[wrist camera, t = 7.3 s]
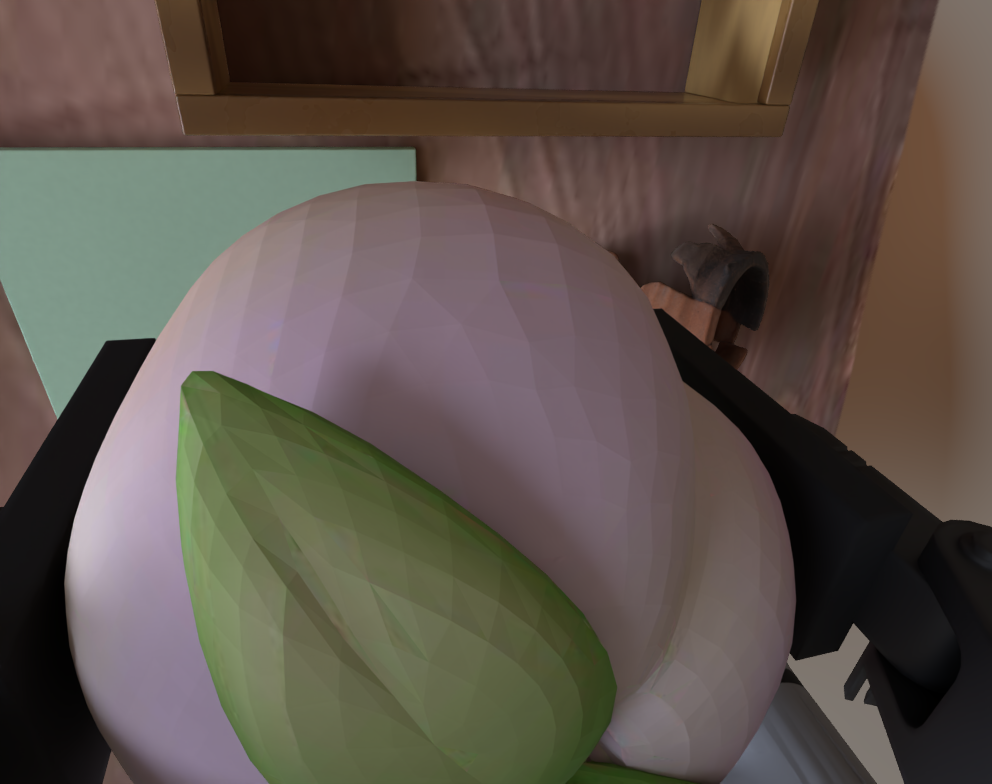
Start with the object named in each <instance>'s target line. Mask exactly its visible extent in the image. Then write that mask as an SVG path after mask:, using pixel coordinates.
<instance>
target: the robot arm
mask: <svg viewBox="0 0 992 784" xmlns="http://www.w3.org/2000/svg"><path fill="white" fill-rule="evenodd" d="M653 310H654V312H655V315H656V317H657V319H658V321H659V324H660V326H661V328H662V330H663V333H664V335H665V337H666V340H667V342H668V345H669V347H670V350H671V352H672V355H673V358H674V360H675V363H676V366H677V368H678V371H679V373H680V376H681V379H682V381H683V382H684V383H686V384H687V385H688V386H690V387H691V388H692V389H694V390H695V391H696V392H697V393H699V394H700V395H701V396H703V397H704V398H705V399H707V400H708V401H709V402H711V403H712V404H713V405H714V406H716V407H717V408H718V409H719V410H720V411H721V412H722V413H723V414H724V415H725V416H726V417H727V418H728V419H729V420H730V421H731V422H732V423H733V424H734V425H735V426H736V427H737V428H738V429H739V430H740V431H741V432H742V433H743V435H744V436H745V437H746V438H747V440H748V441H749V442H750V443H751V445H752V446H753V448H754V449H755V451H756V453H757V454H758V456H759V458H760V460H761V461H762V463H763V465H764V466H765V468H766V470H767V471H768V473H769V475H770V477H771V480H772V482H773V485H774V487H775V490H776V492H777V495H778V497H779V499H780V502H781V505H782V509H783V513H784V517H785V521H786V525H787V529H788V533H789V538H790V544H791V550H792V556H793V562H794V577H795V592H796V608H795V619H794V629H793V640H792V646H791V649H790V654H791V655H792V656H793V658H794V659H795V660H800V659H804V658H809V657H813V656H817V655H822V654H825V653H830V652H834V651H838V650H839V648H840V646H841V644H842V642H843V641H844V639H845V637H846V635H847V633H848V632H849V629H850V628H851V626H852V624H853V623H854V624H855V625H856V626H857V627H858V628H859V630H860V631H861V632H862V633H863V634H864V635H865V636H866V637H867V638H868V640H869V641H870V642H869V644H868V645H867V647H866V649H865V650H864V652H863V654H862V655H861V657H860V659H859V661H858V662H857V664H856V666H855V667H854V669H853V671H852V673H851V674H850V676H849V678H848V680H847V681H846V683H845V685H844V694H845V699H847V700H851V701H853V700H854V698H855V697H856V695H857V693H858V692H859V690H860V688H861V687H862V685H863V683H864V682H865V680H866V679H868V681H869V684H870V688H869V690H868V691H867V693H866V696H865V699H864V703H865V704H870V705H874V706H877V707H878V710H879V713H880V715H881V718H882V721H883V724H884V727H885V729H886V732H887V735H888V738H889V741H890V744H891V747H892V749H893V752H894V755H895V758H896V761H897V764H898V767H899V770H900V772H901V775H902V778H903V781H904V784H992V527H990V526H986V525H982V524H978V523H975V522H971V521H963V520H949V521H946V522H942V521H941V520H939V519H938V518H937V517H935V516H934V515H933V514H932V513H930V512H929V511H928V510H927V509H925V508H924V507H923V506H921V505H920V504H919V503H918V502H917V501H915V500H914V499H913V498H912V497H910V496H909V495H908V494H906V493H905V492H904V491H903V490H901V489H900V488H899V487H898V486H896V485H895V484H894V483H893V482H891V481H890V480H889V479H887V478H886V477H885V476H884V475H882V474H881V473H880V472H879V471H877V470H876V469H875V468H873V467H872V466H867V465H866V461H864V459H862V458H861V457H860V456H858V455H857V454H856V453H855V452H853V451H852V450H851V451H848V450H847V446H846V445H844V444H843V443H842V442H841V441H839V440H838V439H837V438H836V437H834V436H833V435H832V434H831V433H829V432H828V431H827V430H826V429H824V428H822V427H820V426H818V425H816V424H814V423H812V422H810V421H808V420H806V419H804V418H802V417H800V416H798V415H796V414H790V413H789V412H788V411H787V410H785V409H784V408H783V407H782V406H781V405H779V404H778V403H777V402H776V401H774V400H773V399H772V398H771V397H769V396H768V395H767V394H766V393H765V392H763V391H762V390H761V389H760V388H758V387H757V386H756V385H755V384H754V383H752V382H751V381H750V380H749V379H747V378H746V377H745V376H744V375H743V374H741V373H740V372H739V371H738V370H736V369H735V368H734V367H733V366H731V365H730V364H729V363H728V362H727V361H725V360H724V359H723V358H722V357H720V356H719V355H718V354H717V353H716V352H714V351H713V350H712V349H711V348H709V347H708V346H707V345H706V344H704V343H703V342H702V341H701V340H700V339H698V338H697V337H696V336H695V335H693V334H692V333H691V332H690V331H689V330H687V329H686V328H685V327H684V326H682V325H681V324H680V323H679V322H678V321H676V320H675V319H674V318H673V317H671V316H670V315H669V314H668V313H666V312H665V311H664V310H663V309H662V308H661V309H653ZM155 341H156V339H155V338H143V339H125V340H108V341H106V342H105V343H104V345H103V347H102V348H101V350H100V352H99V353H98V355H97V356H96V358H95V360H94V361H93V363H92V365H91V366H90V368H89V369H88V371H87V373H86V374H85V376H84V378H83V379H82V381H81V382H80V384H79V386H78V387H77V389H76V391H75V392H74V394H73V395H72V397H71V399H70V400H69V402H68V404H67V405H66V407H65V408H64V410H63V412H62V413H61V415H60V417H59V418H58V420H57V421H56V423H55V425H54V426H53V428H52V430H51V431H50V433H49V434H48V436H47V438H46V439H45V441H44V443H43V444H42V446H41V447H40V449H39V451H38V452H37V454H36V456H35V457H34V459H33V460H32V462H31V464H30V465H29V467H28V469H27V470H26V472H25V473H24V475H23V477H22V478H21V480H20V482H19V483H18V485H17V486H16V488H15V490H14V491H13V493H12V495H11V496H10V498H9V499H8V501H7V503H6V504H5V506H4V507H0V784H102V783H103V779H104V775H105V772H106V768H107V764H108V760H109V757H110V753H111V748H110V747H109V745H108V744H107V742H106V740H105V739H104V737H103V736H102V734H101V732H100V731H99V729H98V727H97V725H96V723H95V721H94V719H93V717H92V714H91V712H90V710H89V708H88V706H87V703H86V700H85V697H84V695H83V692H82V689H81V686H80V683H79V680H78V677H77V674H76V670H75V666H74V662H73V658H72V655H71V651H70V647H69V638H68V628H67V618H66V605H65V586H64V581H65V571H66V562H67V553H68V548H69V543H70V538H71V533H72V528H73V523H74V518H75V515H76V512H77V509H78V506H79V503H80V500H81V496H82V493H83V490H84V487H85V485H86V482H87V479H88V477H89V474H90V472H91V469H92V466H93V464H94V461H95V458H96V456H97V454H98V452H99V450H100V447H101V445H102V443H103V441H104V439H105V437H106V434H107V432H108V430H109V428H110V426H111V424H112V422H113V419H114V417H115V415H116V413H117V411H118V410H119V408H120V406H121V404H122V402H123V400H124V398H125V396H126V394H127V392H128V391H129V389H130V387H131V385H132V383H133V381H134V379H135V377H136V375H137V374H138V372H139V370H140V368H141V366H142V364H143V363H144V361H145V359H146V357H147V356H148V354H149V352H150V350H151V349H152V347H153V345H154V343H155ZM720 784H877V783H876V782H875V780H874V779H873V778H872V777H871V775H870V774H869V772H868V771H867V770H866V768H865V767H864V766H863V765H862V763H861V762H860V761H859V759H858V758H857V757H856V755H855V754H854V753H853V751H852V750H851V749H850V747H849V746H848V745H847V743H846V742H845V741H844V739H843V738H842V737H841V735H840V734H839V733H838V732H837V730H836V729H835V727H834V726H833V725H832V724H831V722H830V721H829V719H828V718H827V717H826V715H825V714H824V713H823V711H822V710H821V709H820V707H819V706H818V705H817V703H816V702H815V701H814V699H813V698H812V697H811V695H810V694H809V693H808V691H807V690H806V689H805V688H804V686H803V685H802V684H801V682H800V681H799V680H798V678H797V677H796V676H795V674H794V673H793V671H792V670H791V669H790V667H789V665H788V663H786V666H785V670H784V673H783V676H782V679H781V682H780V686H779V688H778V690H777V692H776V694H775V696H774V698H773V700H772V702H771V704H770V706H769V708H768V710H767V712H766V715H765V717H764V719H763V721H762V723H761V725H760V727H759V729H758V731H757V732H756V734H755V735H754V737H753V739H752V740H751V742H750V743H749V745H748V746H747V748H746V749H745V751H744V753H743V754H742V756H741V757H740V759H739V760H738V762H737V763H736V765H735V766H734V767H733V768H732V769H731V771H730V772H729V773H728V774H727V776H726V777H725V778H724V779H723V781H722V782H721V783H720Z"/></svg>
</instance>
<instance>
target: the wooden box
mask: <svg viewBox="0 0 992 784" xmlns="http://www.w3.org/2000/svg"><path fill="white" fill-rule="evenodd" d="M154 1H155V5H156V10H157V15H158V19H159V24H160V29H161V33H162V38H163V43H164V47H165V52H166V57H167V61H168V66H169V71H170V76H171V80H172V85H173V90H174V93H175V94H177V95H176V97H175V98H176V103H177V108H178V112H179V117H180V122H181V126H182V131H183V134H184V135H246V136H645V137H781V136H782V135H783V131H784V127H785V124H786V120H787V116H788V113H789V109H790V106H788V105H790V104H791V102H792V98H793V94H794V91H795V87H796V83H797V80H798V76H799V72H800V69H801V65H802V61H803V58H804V54H805V51H806V47H807V43H808V40H809V36H810V32H811V29H812V25H813V21H814V18H815V14H816V10H817V7H818V3H819V0H702V1H701V7H700V12H699V17H698V23H697V28H696V33H695V39H694V44H693V49H692V55H691V60H690V65H689V71H688V76H687V81H686V87H685V92H686V93H682V92H638V91H594V90H550V89H507V88H463V87H419V86H375V85H331V84H287V83H243V82H230V78H229V72H228V66H227V60H226V54H225V48H224V42H223V36H222V30H221V24H220V18H219V12H218V6H217V1H216V0H154Z"/></svg>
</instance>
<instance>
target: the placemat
mask: <svg viewBox="0 0 992 784" xmlns="http://www.w3.org/2000/svg"><path fill="white" fill-rule="evenodd" d="M408 181H417V176H416V149H415V148H414V147H25V148H0V280H1V282H2V285H3V287H4V290H5V292H6V295H7V297H8V299H9V302H10V304H11V307H12V309H13V312H14V314H15V316H16V319H17V321H18V324H19V326H20V329H21V331H22V334H23V336H24V338H25V341H26V343H27V346H28V348H29V351H30V353H31V355H32V358H33V360H34V363H35V365H36V368H37V370H38V373H39V375H40V377H41V380H42V382H43V385H44V387H45V390H46V392H47V394H48V397H49V399H50V402H51V404H52V407H53V409H54V411H55V414H56V416H57V419H58V418H59V417H60V415H61V413H62V412H63V410H64V408H65V407H66V405H67V404H68V402H69V400H70V399H71V397H72V395H73V394H74V392H75V391H76V389H77V387H78V386H79V384H80V382H81V381H82V379H83V378H84V376H85V374H86V373H87V371H88V369H89V368H90V366H91V365H92V363H93V361H94V360H95V358H96V356H97V355H98V353H99V352H100V350H101V348H102V347H103V345H104V343H105V342H106V341H108V340H125V339H143V338H155V339H156V340H157V338H158V336H159V335H160V333H161V332H162V330H163V329H164V327H165V326H166V324H167V323H168V321H169V320H170V318H171V317H172V315H173V314H174V312H175V311H176V309H177V308H178V306H179V305H180V303H181V302H182V300H183V299H184V297H185V296H186V294H187V293H188V291H189V290H190V288H191V287H192V286H193V285H194V283H195V282H196V281H197V280H198V279H199V277H200V276H201V275H202V274H203V273H204V271H205V270H206V269H207V268H208V267H209V265H210V264H211V263H212V262H213V261H214V260H215V259H216V258H217V257H218V256H219V255H221V254H222V253H223V252H224V251H225V250H226V249H228V248H229V247H230V246H231V245H232V244H233V243H234V242H236V241H237V240H238V239H239V238H240V237H241V236H243V235H244V234H246V233H247V232H249V231H250V230H252V229H254V228H255V227H257V226H258V225H260V224H262V223H263V222H265V221H266V220H268V219H269V218H271V217H273V216H274V215H276V214H277V213H280V212H282V211H284V210H287V209H289V208H291V207H294V206H296V205H298V204H301V203H303V202H305V201H308V200H310V199H312V198H315V197H317V196H319V195H323V194H327V193H331V192H335V191H339V190H343V189H347V188H352V187H356V186H360V185H364V184H375V183H391V182H408Z"/></svg>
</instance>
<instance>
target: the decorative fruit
mask: <svg viewBox="0 0 992 784" xmlns="http://www.w3.org/2000/svg"><path fill="white" fill-rule="evenodd" d="M64 586H65V605H66V618H67V628H68V638H69V647H70V651H71V655H72V658H73V662H74V666H75V670H76V674H77V677H78V680H79V683H80V686H81V689H82V692H83V695H84V697H85V700H86V703H87V706H88V708H89V710H90V712H91V714H92V717H93V719H94V721H95V723H96V725H97V727H98V729H99V731H100V732H101V734H102V736H103V737H104V739H105V740H106V742H107V744H108V745H109V747H110V748H111V750H112V752H113V753H114V755H115V756H116V758H117V760H118V761H119V763H120V764H121V766H122V767H123V769H124V770H125V772H126V773H127V775H128V776H129V778H130V779H131V780H132V781H133V783H134V784H720V783H721V782H722V781H723V779H724V778H725V777H726V776H727V774H728V773H729V772H730V771H731V769H732V768H733V767H734V766H735V765H736V763H737V762H738V760H739V759H740V757H741V756H742V754H743V753H744V751H745V749H746V748H747V746H748V745H749V743H750V742H751V740H752V739H753V737H754V735H755V734H756V732H757V731H758V729H759V727H760V725H761V723H762V721H763V719H764V717H765V715H766V712H767V710H768V708H769V706H770V704H771V702H772V700H773V698H774V696H775V694H776V692H777V690H778V688H779V686H780V682H781V679H782V676H783V673H784V670H785V666H786V663H787V660H788V656H789V653H790V649H791V646H792V640H793V629H794V619H795V608H796V592H795V577H794V562H793V556H792V550H791V544H790V538H789V533H788V529H787V525H786V521H785V517H784V513H783V509H782V505H781V502H780V499H779V497H778V495H777V492H776V490H775V487H774V485H773V482H772V480H771V477H770V475H769V473H768V471H767V470H766V468H765V466H764V465H763V463H762V461H761V460H760V458H759V456H758V454H757V453H756V451H755V449H754V448H753V446H752V445H751V443H750V442H749V441H748V440H747V438H746V437H745V436H744V435H743V433H742V432H741V431H740V430H739V429H738V428H737V427H736V426H735V425H734V424H733V423H732V422H731V421H730V420H729V419H728V418H727V417H726V416H725V415H724V414H723V413H722V412H721V411H720V410H719V409H718V408H717V407H716V406H714V405H713V404H712V403H711V402H709V401H708V400H707V399H705V398H704V397H703V396H701V395H700V394H699V393H697V392H696V391H695V390H694V389H692V388H691V387H690V386H688V385H687V384H686V383H684V382H683V381H682V379H681V376H680V373H679V371H678V368H677V366H676V363H675V360H674V358H673V355H672V352H671V350H670V347H669V345H668V342H667V340H666V337H665V335H664V333H663V330H662V328H661V326H660V324H659V321H658V319H657V317H656V315H655V312H654V310H653V308H652V306H651V303H650V301H649V299H648V297H647V296H646V295H645V293H644V292H643V291H642V290H641V288H640V287H639V286H638V285H637V283H636V282H635V281H634V280H633V278H632V277H631V276H630V275H629V273H628V272H627V271H626V270H625V269H624V267H623V266H622V265H621V264H620V263H619V262H618V260H617V259H616V258H615V257H614V256H613V255H612V254H611V253H609V252H608V251H607V250H605V249H604V248H602V247H601V246H600V245H598V244H597V243H596V242H594V241H593V240H591V239H590V238H589V237H587V236H586V235H585V234H583V233H582V232H580V231H579V230H578V229H576V228H575V227H574V226H572V225H571V224H569V223H568V222H566V221H564V220H562V219H560V218H558V217H556V216H554V215H552V214H550V213H548V212H546V211H544V210H542V209H540V208H538V207H536V206H534V205H532V204H530V203H528V202H525V201H522V200H519V199H516V198H513V197H510V196H506V195H503V194H499V193H496V192H492V191H489V190H485V189H482V188H478V187H475V186H471V185H468V184H453V183H436V182H420V181H408V182H391V183H375V184H364V185H360V186H356V187H352V188H347V189H343V190H339V191H335V192H331V193H327V194H323V195H319V196H317V197H315V198H312V199H310V200H308V201H305V202H303V203H301V204H298V205H296V206H294V207H291V208H289V209H287V210H284V211H282V212H280V213H277V214H276V215H274V216H273V217H271V218H269V219H268V220H266V221H265V222H263V223H262V224H260V225H258V226H257V227H255V228H254V229H252V230H250V231H249V232H247V233H246V234H244V235H243V236H241V237H240V238H239V239H238V240H237V241H236V242H234V243H233V244H232V245H231V246H230V247H229V248H228V249H226V250H225V251H224V252H223V253H222V254H221V255H219V256H218V257H217V258H216V259H215V260H214V261H213V262H212V263H211V264H210V265H209V267H208V268H207V269H206V270H205V271H204V273H203V274H202V275H201V276H200V277H199V279H198V280H197V281H196V282H195V283H194V285H193V286H192V287H191V288H190V290H189V291H188V293H187V294H186V296H185V297H184V299H183V300H182V302H181V303H180V305H179V306H178V308H177V309H176V311H175V312H174V314H173V315H172V317H171V318H170V320H169V321H168V323H167V324H166V326H165V327H164V329H163V330H162V332H161V333H160V335H159V336H158V338H157V340H156V341H155V343H154V345H153V347H152V349H151V350H150V352H149V354H148V356H147V357H146V359H145V361H144V363H143V364H142V366H141V368H140V370H139V372H138V374H137V375H136V377H135V379H134V381H133V383H132V385H131V387H130V389H129V391H128V392H127V394H126V396H125V398H124V400H123V402H122V404H121V406H120V408H119V410H118V411H117V413H116V415H115V417H114V419H113V422H112V424H111V426H110V428H109V430H108V432H107V434H106V437H105V439H104V441H103V443H102V445H101V447H100V450H99V452H98V454H97V456H96V458H95V461H94V464H93V466H92V469H91V472H90V474H89V477H88V479H87V482H86V485H85V487H84V490H83V493H82V496H81V500H80V503H79V506H78V509H77V512H76V515H75V518H74V523H73V528H72V533H71V538H70V543H69V548H68V553H67V562H66V571H65V581H64Z"/></svg>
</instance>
